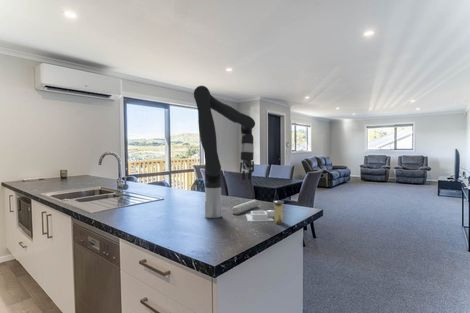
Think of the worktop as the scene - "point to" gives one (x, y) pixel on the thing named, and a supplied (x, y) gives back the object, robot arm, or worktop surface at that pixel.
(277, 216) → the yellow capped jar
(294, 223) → the worktop surface
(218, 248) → the worktop surface
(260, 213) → the socket
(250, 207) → the tube
